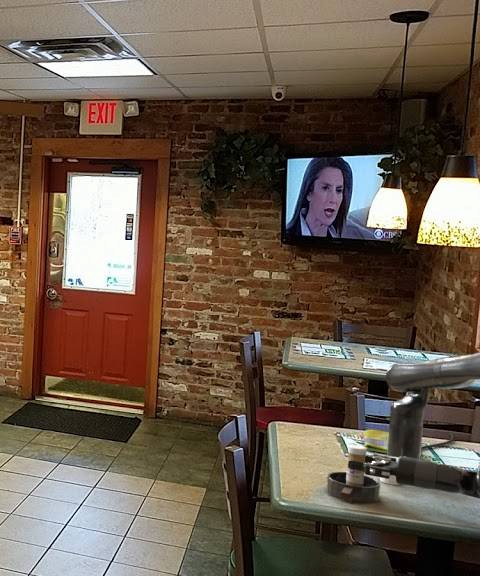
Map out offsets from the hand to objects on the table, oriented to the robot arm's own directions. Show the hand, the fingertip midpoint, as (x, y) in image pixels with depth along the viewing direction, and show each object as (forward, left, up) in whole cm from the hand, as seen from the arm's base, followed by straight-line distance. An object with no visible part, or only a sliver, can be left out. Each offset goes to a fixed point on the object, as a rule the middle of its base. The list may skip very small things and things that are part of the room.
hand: (351, 460), depth 216 cm
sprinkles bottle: (0, +1, -9) cm, 9 cm away
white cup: (-21, +8, -10) cm, 25 cm away
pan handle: (+9, +1, -10) cm, 14 cm away
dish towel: (-65, +3, -10) cm, 66 cm away
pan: (0, +1, -10) cm, 10 cm away
